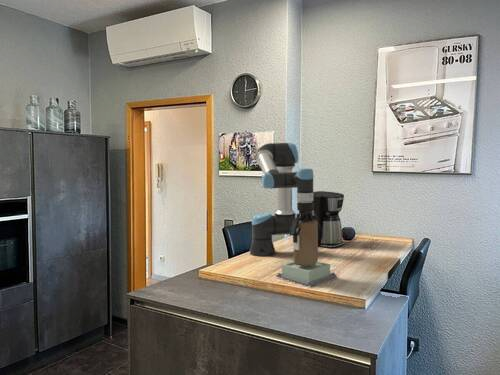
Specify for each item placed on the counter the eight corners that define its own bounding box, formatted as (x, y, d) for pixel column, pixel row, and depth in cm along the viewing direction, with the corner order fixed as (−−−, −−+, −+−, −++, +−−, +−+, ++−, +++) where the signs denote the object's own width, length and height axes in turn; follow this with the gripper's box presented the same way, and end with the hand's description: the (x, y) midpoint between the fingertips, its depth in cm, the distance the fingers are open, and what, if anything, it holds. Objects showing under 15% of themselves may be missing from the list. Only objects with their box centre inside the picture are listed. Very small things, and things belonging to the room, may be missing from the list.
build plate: (276, 277, 185) (275, 264, 185) (303, 268, 199) (302, 256, 199) (309, 287, 171) (309, 273, 170) (336, 276, 184) (336, 263, 184)
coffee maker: (343, 249, 238) (343, 194, 235) (290, 247, 246) (290, 193, 244) (344, 241, 260) (344, 190, 257) (296, 239, 268) (295, 190, 266)
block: (315, 266, 178) (315, 223, 177) (293, 265, 181) (293, 222, 179) (318, 261, 188) (317, 219, 186) (297, 259, 191) (296, 219, 189)
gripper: (294, 205, 171) (294, 253, 173) (327, 199, 188) (328, 243, 190) (281, 203, 176) (282, 250, 178) (315, 198, 193) (315, 241, 195)
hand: (305, 247), depth 184 cm, fingers closed on block, 13 cm apart
